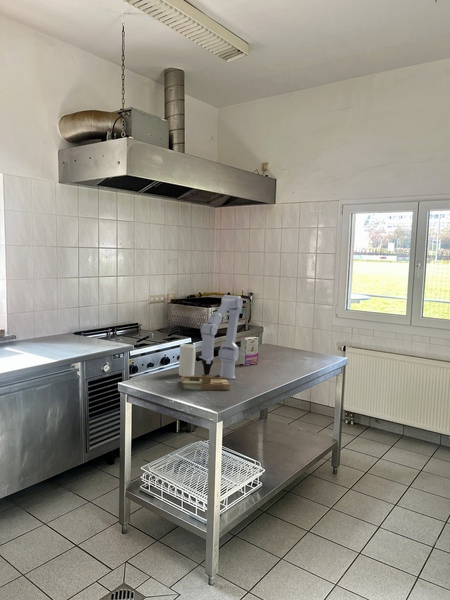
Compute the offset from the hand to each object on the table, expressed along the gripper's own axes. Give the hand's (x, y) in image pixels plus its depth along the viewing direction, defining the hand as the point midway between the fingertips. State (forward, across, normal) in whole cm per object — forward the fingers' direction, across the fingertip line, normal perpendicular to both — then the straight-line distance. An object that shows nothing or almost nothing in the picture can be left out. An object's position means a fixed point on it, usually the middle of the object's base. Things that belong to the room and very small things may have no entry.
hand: (206, 374), depth 219 cm
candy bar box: (+6, -48, +30) cm, 57 cm away
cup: (+6, -20, -9) cm, 23 cm away
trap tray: (+6, 0, -1) cm, 6 cm away
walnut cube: (+3, +4, 0) cm, 5 cm away
